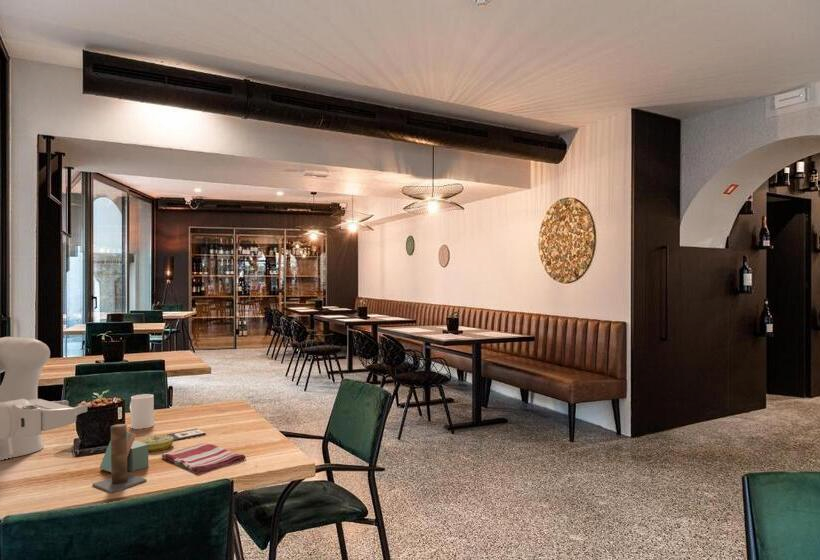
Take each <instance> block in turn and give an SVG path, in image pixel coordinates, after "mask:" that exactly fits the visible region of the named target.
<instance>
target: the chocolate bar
mask: <svg viewBox="0 0 820 560" xmlns="http://www.w3.org/2000/svg"><path fill="white" fill-rule="evenodd" d="M165 435H168V436H171V437H173V440H174V441H173V442H178V441H183V440H187V439H186V438H188V439H192V438H191V437H193V438H197V437H196V436H198V437H203V436H207V433H206V432H204V431H202V430H200V429H198V428H193V429H188V430H187V429H186V430H183V431H177V432H173V433H167V434H165ZM202 435H203V436H202ZM182 439H183V440H182ZM177 440H178V441H177Z"/></svg>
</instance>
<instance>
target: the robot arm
mask: <svg viewBox="0 0 820 560" xmlns="http://www.w3.org/2000/svg"><path fill="white" fill-rule="evenodd" d="M50 358H51V350H50V347H49V346H48V345H47V344H46V343H44V342H43V341H41V340H38V339H36V338H33V337H32V338H31V337H22V336H21V337H20V336H19V337H18V336H17V337H16V336H4V337H0V374H1V373H3V372H4V376H3V379H2V382H1V384H0V461H3V460H4V459H6V460H9V459H8V458H10V459H12V457H13V458H17V457H21V456H26V455H29V454H33V453H35V452H36V453H37V452H38V451H40V450H42V449H43V448H44V447H45V446H44V443H43V441H42V437H41V434H42V432H46V431H51V430H54V429H55V430H56V429H58V428H63V427H65V426H69V425H71V424H73V423H75V422H76V421H77V416H78V415H80V414H83V413H87V412H88V405H87V404H80V405H76V406H74V407H73V406H70V402H69V400H65V399H64V400H57V401H56V400H53V401H49V400H45V399H42V398H38V385H39V380H40V377H41V373H42V370H43V368H44V367H45V366H46V365H47V363H48V361H50ZM4 461H5V460H4Z"/></svg>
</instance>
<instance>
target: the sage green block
mask: <svg viewBox="0 0 820 560" xmlns="http://www.w3.org/2000/svg"><path fill="white" fill-rule="evenodd" d="M148 467H149V452H148V444H145V443H142V442H141V441H138V440H134V441H133V444H132V446H131V449H130V452H129V454H128V457H127V471H129V472H136V471H140V470H143V469H145V468H148Z"/></svg>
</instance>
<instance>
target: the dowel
mask: <svg viewBox="0 0 820 560" xmlns="http://www.w3.org/2000/svg"><path fill="white" fill-rule="evenodd" d="M127 427H128V425H127V424H126V423H118V424H114V425H111V426H110V440H111V472H110V473H111V477H110V478H111V481H112V484H122V483H125V482H126V481H127V473H128V470H127V432H128V429H127Z"/></svg>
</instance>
